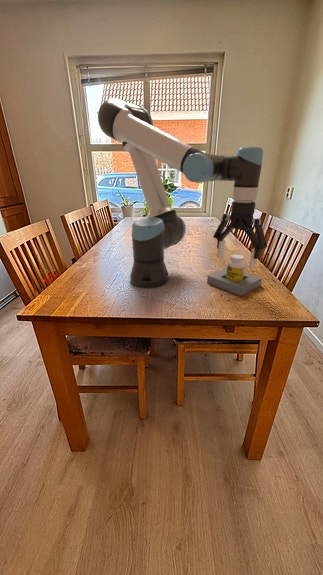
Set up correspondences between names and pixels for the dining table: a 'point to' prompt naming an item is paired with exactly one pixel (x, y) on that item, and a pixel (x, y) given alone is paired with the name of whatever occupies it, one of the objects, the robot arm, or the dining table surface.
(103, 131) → the robot arm
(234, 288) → the bottle holder
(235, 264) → the pill bottle
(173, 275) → the dining table surface
